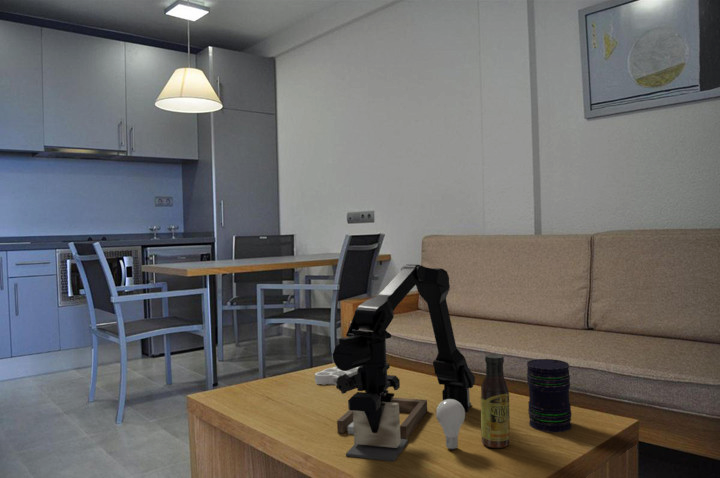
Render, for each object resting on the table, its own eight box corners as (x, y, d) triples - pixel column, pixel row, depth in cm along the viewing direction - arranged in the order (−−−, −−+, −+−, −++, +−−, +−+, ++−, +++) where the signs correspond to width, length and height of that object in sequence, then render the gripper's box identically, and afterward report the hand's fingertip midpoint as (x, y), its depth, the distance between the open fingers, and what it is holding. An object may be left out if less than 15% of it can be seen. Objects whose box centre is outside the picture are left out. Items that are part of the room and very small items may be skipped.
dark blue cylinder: (553, 435, 128) (550, 371, 128) (520, 424, 136) (517, 363, 136) (580, 426, 133) (578, 364, 133) (547, 415, 142) (544, 357, 141)
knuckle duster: (333, 390, 173) (307, 382, 185) (376, 378, 185) (349, 371, 196) (333, 380, 173) (306, 372, 185) (376, 368, 185) (349, 361, 196)
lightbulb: (471, 452, 121) (469, 401, 121) (445, 456, 119) (442, 405, 119) (458, 441, 127) (456, 393, 127) (433, 445, 125) (430, 397, 125)
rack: (427, 411, 149) (426, 399, 149) (406, 439, 130) (406, 426, 130) (366, 406, 155) (365, 395, 155) (337, 432, 136) (337, 420, 136)
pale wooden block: (400, 442, 125) (398, 402, 124) (396, 448, 122) (395, 407, 122) (358, 438, 128) (357, 400, 128) (354, 443, 125) (352, 404, 125)
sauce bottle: (493, 452, 120) (489, 360, 120) (475, 442, 126) (472, 355, 126) (517, 446, 123) (513, 356, 123) (499, 436, 129) (495, 351, 128)
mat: (408, 441, 128) (407, 439, 128) (394, 461, 118) (394, 458, 118) (363, 437, 132) (363, 435, 132) (346, 456, 122) (345, 453, 122)
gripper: (355, 350, 136) (358, 413, 136) (324, 369, 119) (327, 442, 119) (398, 352, 132) (401, 417, 133) (373, 372, 115) (376, 447, 115)
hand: (377, 430), depth 125 cm, fingers closed on pale wooden block, 3 cm apart
